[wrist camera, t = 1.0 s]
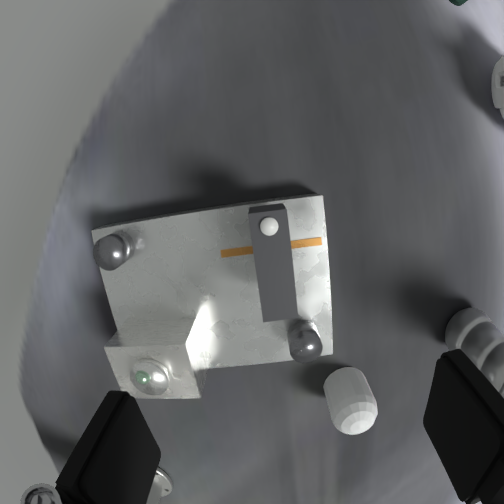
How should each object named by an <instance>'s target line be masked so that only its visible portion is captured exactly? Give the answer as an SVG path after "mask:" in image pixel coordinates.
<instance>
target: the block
mask: <svg viewBox="0 0 504 504" xmlns="http://www.w3.org/2000/svg"><path fill="white" fill-rule="evenodd" d="M248 218H249V226H250V233H251V240H252V247H253V254H254V261H255V268H256V275H257V282H258V289H259V296H260V303H261V310H262V317H263V322H271V321H279V320H287V319H295V318H298V308H297V298H296V288H295V278H294V268H293V258H292V249H291V240H290V232H289V223H288V215H287V209H286V207H285V206H284V204H283V203H279V204H271V205H263V206H256V207H250V208H249V212H248Z"/></svg>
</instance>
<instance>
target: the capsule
mask: <svg viewBox="0 0 504 504" xmlns="http://www.w3.org/2000/svg"><path fill="white" fill-rule="evenodd" d="M323 388H324V392H325V396H326V400H327V404H328V408H329V411H330V415H331V419H332V422H333V424H334V426H335V427H336V428H337V429H338V430H339V431H341V432H343V433H346V434H349V435H354V434H359V433H362V432H364V431H366V430H368V429H369V428H370V427H371V426H372V425H373V423H374V421H375V419H376V416H377V414H378V412H377V404H376V400H375V398H374V396H373V393H372V391H371V389H370V387H369V385H368V382H367V380H366V378H365V376H364V374H363V373H362V372H361V371H360V370H359V369H357V368H354V367H344V368H341V369H338V370H336V371H334V372H333V373H331V374H330V375H329V376H328V377H327V379H326V380H325V382H324V386H323Z"/></svg>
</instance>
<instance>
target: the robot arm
mask: <svg viewBox="0 0 504 504" xmlns="http://www.w3.org/2000/svg"><path fill="white" fill-rule="evenodd" d="M423 424H424V428H425V430H426V432H427V434H428V436H429V438H430V439H431V441H432V443H433V445H434V447H435V449H436V451H437V453H438V455H439V457H440V459H441V461H442V464H443V466H444V468H445V470H446V472H447V474H448V476H449V478H450V480H451V482H452V485H453V487H454V489H455V491H456V493H457V495H458V498H459V499H460V500H461V501H462V502H464V501H465V503H466V504H475V503H477V502H479V501H481V502H482V504H504V398H503V397H502V396H501V394H500V393H499V392H498V391H497V390H496V389H495V387H494V386H493V385H492V384H491V383H490V381H489V380H488V379H487V378H486V377H485V376H484V375H483V373H482V372H481V371H480V370H479V369H478V368H477V367H476V366H475V364H474V363H473V362H472V361H471V360H470V359H469V358H468V357H467V356H466V354H465V353H464V352H463V351H462V350H461V349H455V350H451V351H448V352H445V353H443V354H442V355H441V358H440V359H438V360H437V362H436V367H435V372H434V377H433V382H432V386H431V390H430V395H429V399H428V403H427V407H426V410H425V414H424V418H423ZM160 458H161V452H160V449H159V447H158V445H157V443H156V441H155V439H154V437H153V435H152V433H151V431H150V429H149V427H148V425H147V423H146V421H145V419H144V417H143V415H142V413H141V411H140V408H139V406H138V404H137V402H136V400H135V398H134V397H133V396H130V394H129V393H128V392H127V391H109V392H108V393H107V395H106V396H105V398H104V400H103V401H102V403H101V405H100V406H99V408H98V410H97V411H96V413H95V415H94V416H93V418H92V420H91V421H90V423H89V425H88V426H87V428H86V430H85V431H84V433H83V435H82V437H81V438H80V440H79V442H78V443H77V445H76V447H75V449H74V450H73V452H72V454H71V456H70V457H69V459H68V461H67V463H66V464H65V466H64V468H63V470H62V472H61V473H60V475H59V477H58V479H57V481H56V484H57V485H56V487H55V488H54V487H52V486H50V485H48V484H42V483H41V484H36V485H33V486H31V487H29V488H28V489H27V490H26V491H25V492H24V494H23V495H22V498H21V504H159V501H160V497H162V496H166V495H168V494H169V493H170V492H171V490H172V487H173V483H172V480H171V479H170V477H169V476H168V475H167V474H166V473H165V472H164V471H163V470H162V469H160V468H159V467H158V465H159V461H160Z"/></svg>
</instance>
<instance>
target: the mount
mask: <svg viewBox="0 0 504 504" xmlns="http://www.w3.org/2000/svg"><path fill="white" fill-rule="evenodd" d="M449 1H450V2H451V3H453V4H454V5H456V6H461V5H462V4H463V3H465V2H466V1H468V0H449Z"/></svg>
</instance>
